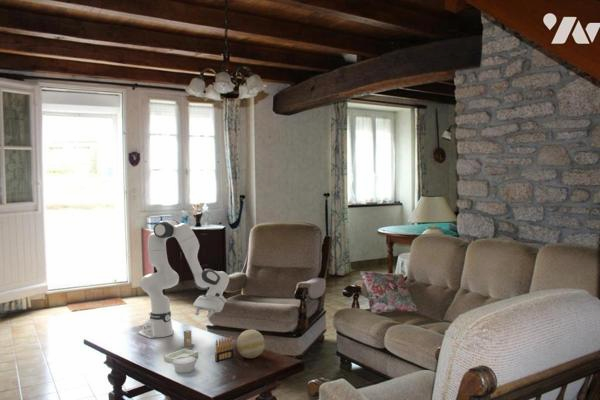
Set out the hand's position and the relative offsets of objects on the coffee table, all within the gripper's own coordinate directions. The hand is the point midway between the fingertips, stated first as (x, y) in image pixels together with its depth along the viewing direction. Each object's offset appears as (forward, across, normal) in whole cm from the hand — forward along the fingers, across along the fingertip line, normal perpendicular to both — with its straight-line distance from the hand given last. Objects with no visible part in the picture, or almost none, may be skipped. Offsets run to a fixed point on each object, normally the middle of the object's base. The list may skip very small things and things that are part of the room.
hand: (202, 316), depth 302 cm
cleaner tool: (+20, 0, +3) cm, 20 cm away
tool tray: (+30, +9, -7) cm, 32 cm away
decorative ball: (+16, +41, +7) cm, 44 cm away
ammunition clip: (+23, +31, 0) cm, 38 cm away
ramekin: (+38, +23, -15) cm, 46 cm away
